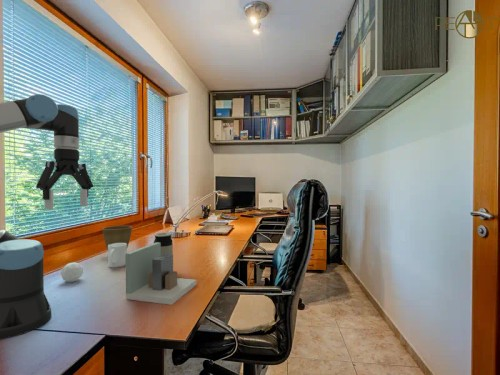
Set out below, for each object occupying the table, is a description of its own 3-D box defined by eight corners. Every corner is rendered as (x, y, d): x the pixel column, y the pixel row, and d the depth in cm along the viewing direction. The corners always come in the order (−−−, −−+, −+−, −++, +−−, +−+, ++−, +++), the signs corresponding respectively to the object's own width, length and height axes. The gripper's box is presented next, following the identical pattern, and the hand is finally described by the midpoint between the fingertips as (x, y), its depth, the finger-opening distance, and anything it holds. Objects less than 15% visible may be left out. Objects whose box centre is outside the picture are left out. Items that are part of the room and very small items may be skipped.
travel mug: (153, 277, 113) (152, 236, 113) (154, 272, 121) (154, 232, 121) (172, 276, 115) (172, 235, 115) (172, 270, 123) (172, 231, 123)
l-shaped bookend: (171, 304, 88) (171, 256, 88) (125, 298, 93) (125, 253, 92) (196, 284, 105) (195, 244, 105) (156, 280, 110) (156, 242, 110)
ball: (68, 287, 111) (64, 269, 114) (88, 278, 113) (84, 261, 116) (58, 284, 104) (54, 265, 107) (80, 274, 106) (76, 256, 109)
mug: (119, 270, 124) (119, 248, 124) (101, 270, 123) (100, 248, 123) (129, 262, 136) (129, 242, 136) (113, 262, 135) (112, 242, 135)
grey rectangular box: (161, 290, 95) (160, 260, 94) (152, 289, 96) (152, 259, 95) (173, 282, 102) (173, 254, 102) (165, 281, 103) (164, 253, 103)
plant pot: (131, 257, 145) (131, 228, 145) (100, 260, 140) (100, 230, 140) (132, 251, 159) (132, 224, 159) (104, 253, 154) (104, 226, 154)
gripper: (39, 143, 83) (40, 211, 83) (102, 152, 107) (103, 205, 107) (21, 144, 85) (22, 210, 85) (87, 153, 109) (88, 204, 109)
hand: (67, 207), depth 96 cm, fingers open, 13 cm apart
